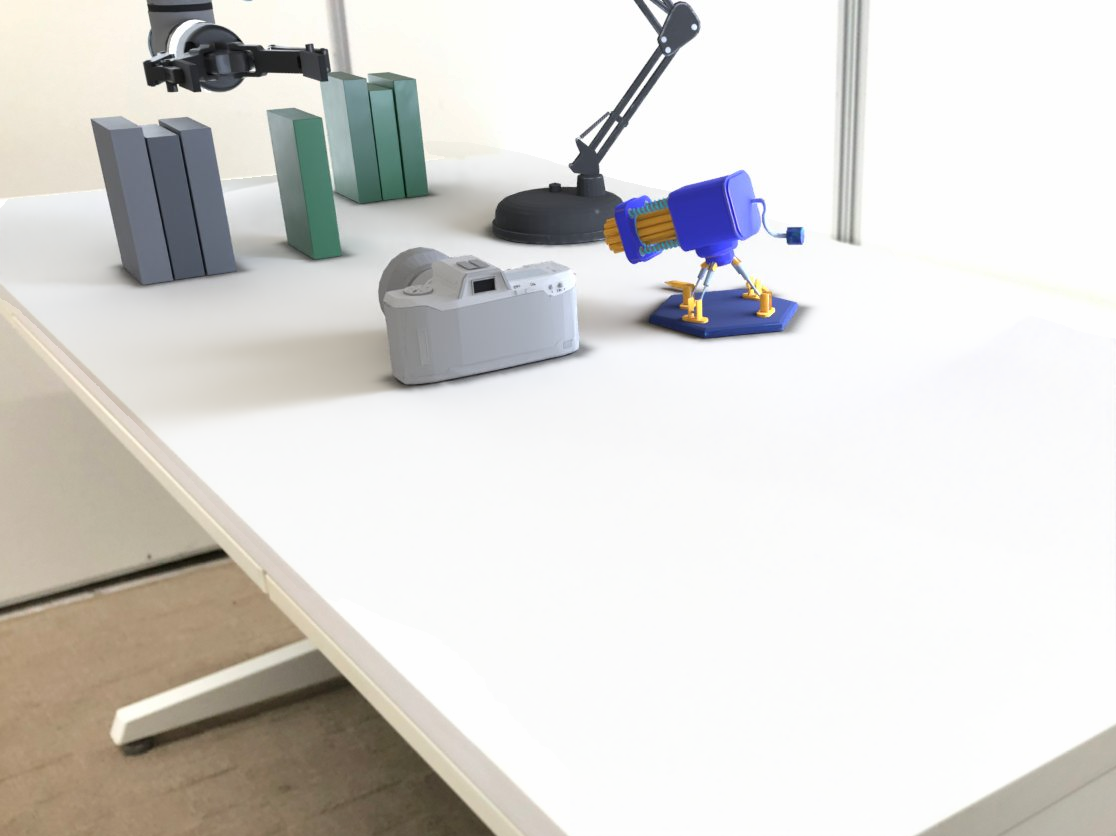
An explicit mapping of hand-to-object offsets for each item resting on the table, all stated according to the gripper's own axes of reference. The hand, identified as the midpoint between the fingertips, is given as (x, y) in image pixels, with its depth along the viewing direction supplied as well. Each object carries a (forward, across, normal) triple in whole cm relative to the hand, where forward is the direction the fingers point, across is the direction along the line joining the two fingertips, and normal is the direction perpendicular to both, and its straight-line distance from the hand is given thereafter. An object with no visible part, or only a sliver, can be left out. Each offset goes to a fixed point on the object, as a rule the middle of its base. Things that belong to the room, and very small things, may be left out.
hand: (261, 73), depth 140 cm
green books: (-15, -17, -17) cm, 28 cm away
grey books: (+10, +14, -17) cm, 24 cm away
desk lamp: (+16, -26, -17) cm, 35 cm away
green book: (+10, 0, -17) cm, 20 cm away
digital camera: (+52, 0, -17) cm, 55 cm away
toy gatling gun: (+54, -22, -17) cm, 61 cm away
